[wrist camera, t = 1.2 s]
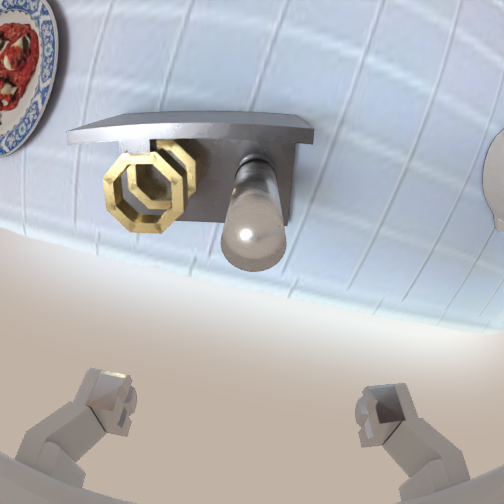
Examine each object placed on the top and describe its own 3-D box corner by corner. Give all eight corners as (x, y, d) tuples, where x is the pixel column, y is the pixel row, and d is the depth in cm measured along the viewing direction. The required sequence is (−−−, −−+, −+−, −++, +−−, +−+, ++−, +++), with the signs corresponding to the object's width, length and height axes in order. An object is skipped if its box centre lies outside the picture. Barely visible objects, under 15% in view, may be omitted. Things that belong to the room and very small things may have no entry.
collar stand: (296, 115, 32) (314, 128, 21) (286, 221, 38) (296, 277, 28) (121, 114, 32) (66, 131, 21) (129, 215, 38) (87, 264, 28)
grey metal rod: (276, 153, 33) (291, 214, 18) (273, 189, 35) (284, 274, 20) (237, 151, 33) (219, 210, 18) (236, 187, 35) (219, 271, 20)
